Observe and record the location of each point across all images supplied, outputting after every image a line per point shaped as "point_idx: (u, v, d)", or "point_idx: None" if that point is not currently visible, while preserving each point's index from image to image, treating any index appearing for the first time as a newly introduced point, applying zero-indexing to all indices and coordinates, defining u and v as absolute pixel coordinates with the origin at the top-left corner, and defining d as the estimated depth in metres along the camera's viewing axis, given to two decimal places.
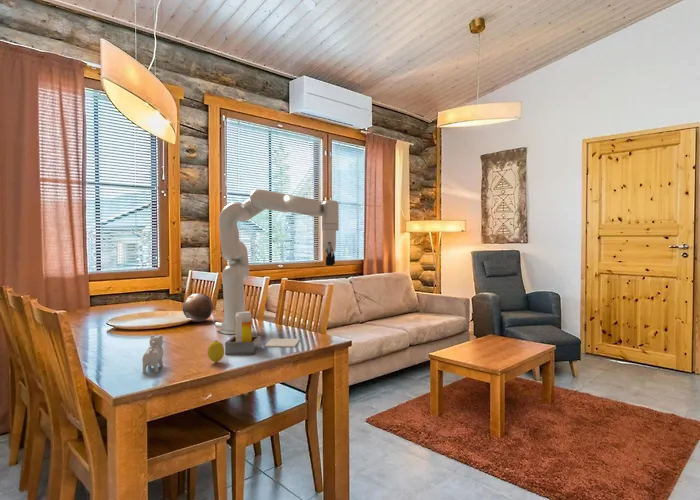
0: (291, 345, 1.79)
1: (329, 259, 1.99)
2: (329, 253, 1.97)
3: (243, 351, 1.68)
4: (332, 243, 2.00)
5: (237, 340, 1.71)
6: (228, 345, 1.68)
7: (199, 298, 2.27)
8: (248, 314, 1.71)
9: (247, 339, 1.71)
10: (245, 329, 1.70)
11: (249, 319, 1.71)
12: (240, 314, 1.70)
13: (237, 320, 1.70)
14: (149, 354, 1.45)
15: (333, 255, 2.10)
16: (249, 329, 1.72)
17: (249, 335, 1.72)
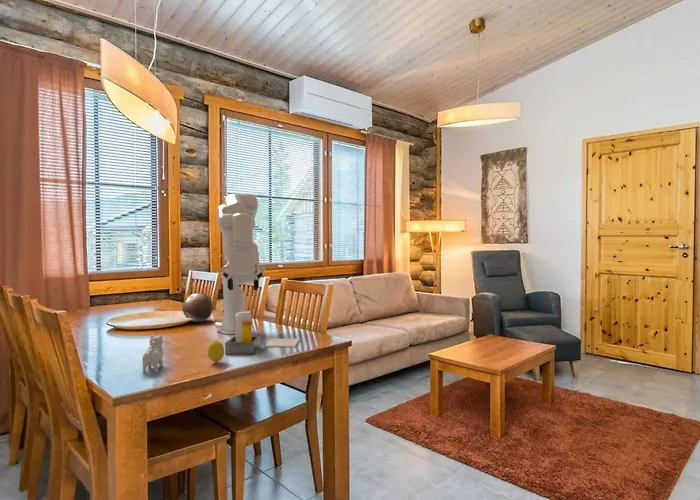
0: (291, 345, 1.79)
1: (258, 282, 1.72)
2: (261, 275, 1.72)
3: (243, 351, 1.68)
4: (256, 264, 1.73)
5: (237, 340, 1.71)
6: (228, 345, 1.68)
7: (199, 298, 2.27)
8: (248, 314, 1.71)
9: (247, 339, 1.71)
10: (245, 329, 1.70)
11: (249, 319, 1.71)
12: (240, 314, 1.70)
13: (237, 320, 1.70)
14: (149, 354, 1.45)
15: None
16: (249, 329, 1.72)
17: (249, 335, 1.72)
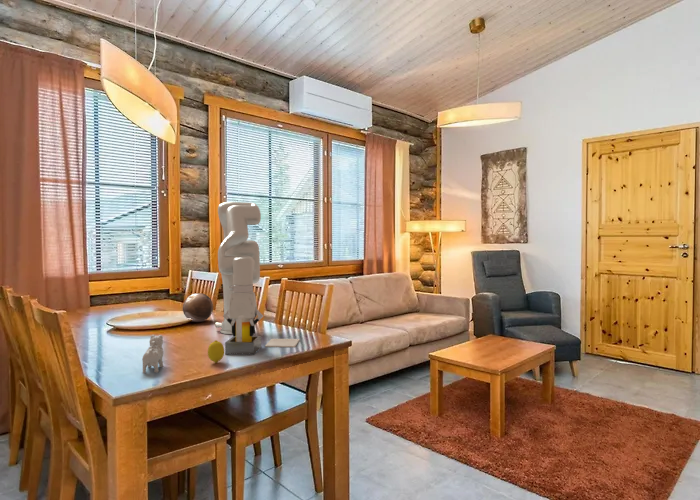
0: (291, 345, 1.79)
1: (254, 328, 1.73)
2: (257, 321, 1.73)
3: (243, 351, 1.68)
4: (256, 307, 1.74)
5: (237, 340, 1.71)
6: (228, 345, 1.68)
7: (199, 298, 2.27)
8: None
9: (247, 339, 1.71)
10: (245, 329, 1.70)
11: None
12: None
13: (237, 320, 1.70)
14: (149, 354, 1.45)
15: None
16: (249, 329, 1.72)
17: (249, 335, 1.72)
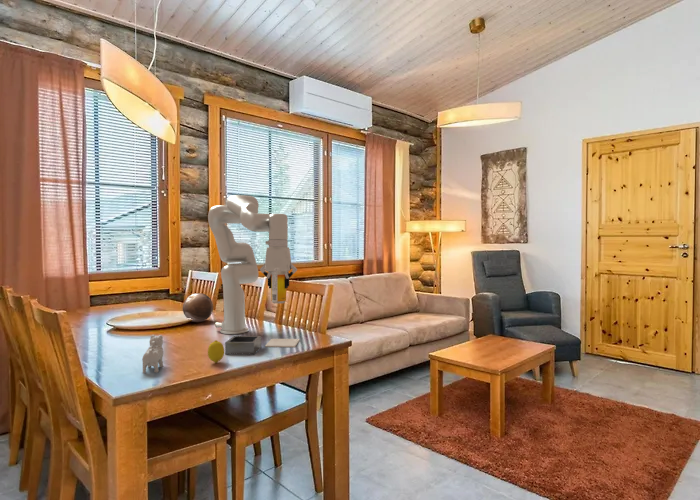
0: (291, 345, 1.79)
1: (288, 281, 1.82)
2: (291, 274, 1.82)
3: (243, 351, 1.68)
4: None
5: (273, 292, 1.80)
6: (228, 345, 1.68)
7: (199, 298, 2.27)
8: None
9: (282, 291, 1.81)
10: (281, 282, 1.80)
11: (284, 272, 1.81)
12: None
13: (273, 273, 1.80)
14: (149, 354, 1.45)
15: None
16: (284, 282, 1.81)
17: (284, 287, 1.81)
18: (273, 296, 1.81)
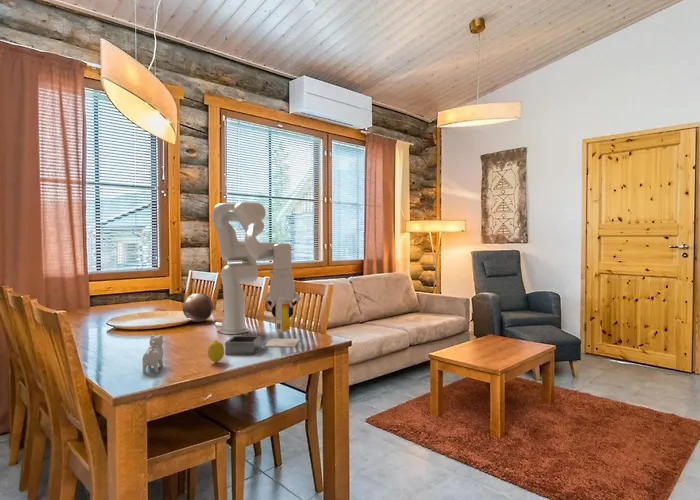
0: (291, 345, 1.79)
1: (292, 310, 1.84)
2: (295, 303, 1.84)
3: (243, 351, 1.68)
4: (294, 290, 1.85)
5: (277, 321, 1.82)
6: (228, 345, 1.68)
7: (199, 298, 2.27)
8: None
9: (286, 320, 1.82)
10: (285, 311, 1.82)
11: (288, 301, 1.83)
12: None
13: (277, 302, 1.82)
14: (149, 354, 1.45)
15: None
16: (288, 311, 1.83)
17: (288, 316, 1.83)
18: (277, 325, 1.82)
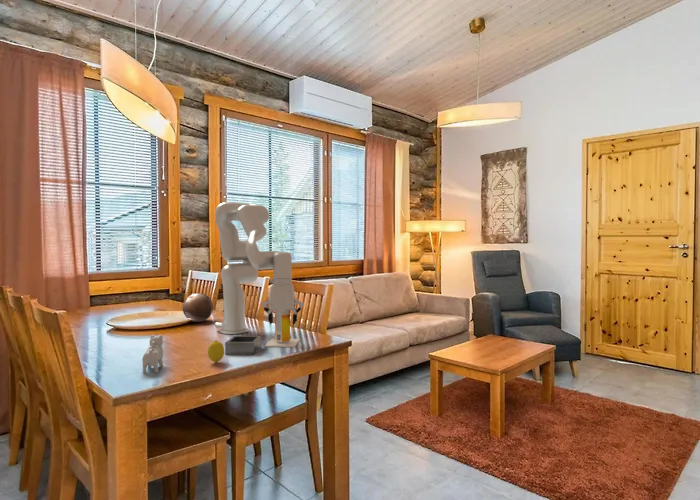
0: (291, 345, 1.79)
1: (296, 316, 1.84)
2: None
3: (243, 351, 1.68)
4: (295, 299, 1.85)
5: (277, 332, 1.82)
6: (228, 345, 1.68)
7: (199, 298, 2.27)
8: None
9: (286, 331, 1.82)
10: (285, 322, 1.82)
11: (288, 312, 1.83)
12: None
13: (277, 313, 1.82)
14: (149, 354, 1.45)
15: None
16: (288, 322, 1.83)
17: (288, 327, 1.83)
18: (277, 337, 1.82)
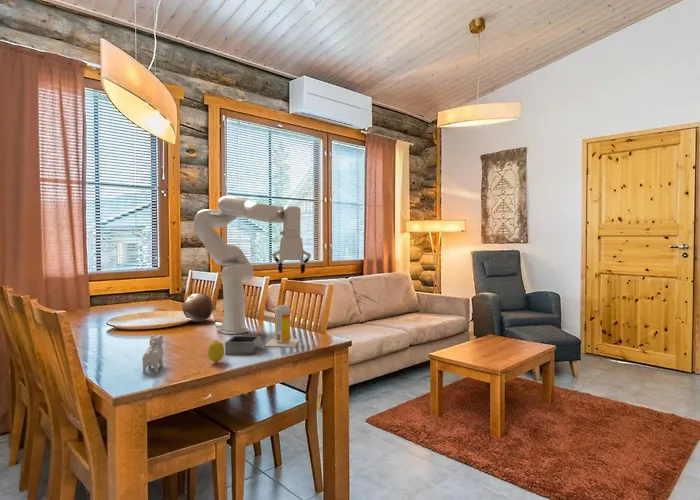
0: (291, 345, 1.79)
1: (304, 266, 1.97)
2: (307, 260, 1.97)
3: (243, 351, 1.68)
4: None
5: (277, 332, 1.82)
6: (228, 345, 1.68)
7: (199, 298, 2.27)
8: (287, 307, 1.83)
9: (286, 331, 1.82)
10: (285, 322, 1.82)
11: (288, 312, 1.83)
12: (280, 307, 1.82)
13: (277, 313, 1.82)
14: (149, 354, 1.45)
15: None
16: (288, 321, 1.83)
17: (288, 327, 1.83)
18: (277, 337, 1.82)
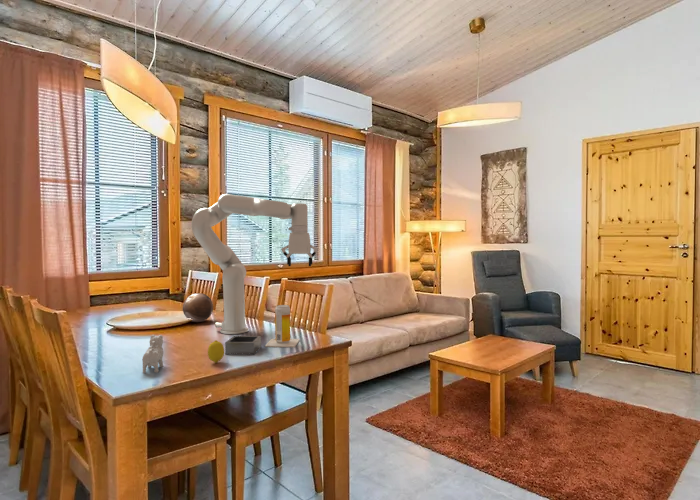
0: (291, 345, 1.79)
1: None
2: None
3: (243, 351, 1.68)
4: None
5: (277, 332, 1.82)
6: (228, 345, 1.68)
7: (199, 298, 2.27)
8: (287, 307, 1.83)
9: (286, 331, 1.82)
10: (285, 322, 1.82)
11: (288, 312, 1.83)
12: (280, 307, 1.82)
13: (277, 313, 1.82)
14: (149, 354, 1.45)
15: None
16: (288, 321, 1.83)
17: (288, 327, 1.83)
18: (277, 337, 1.82)
